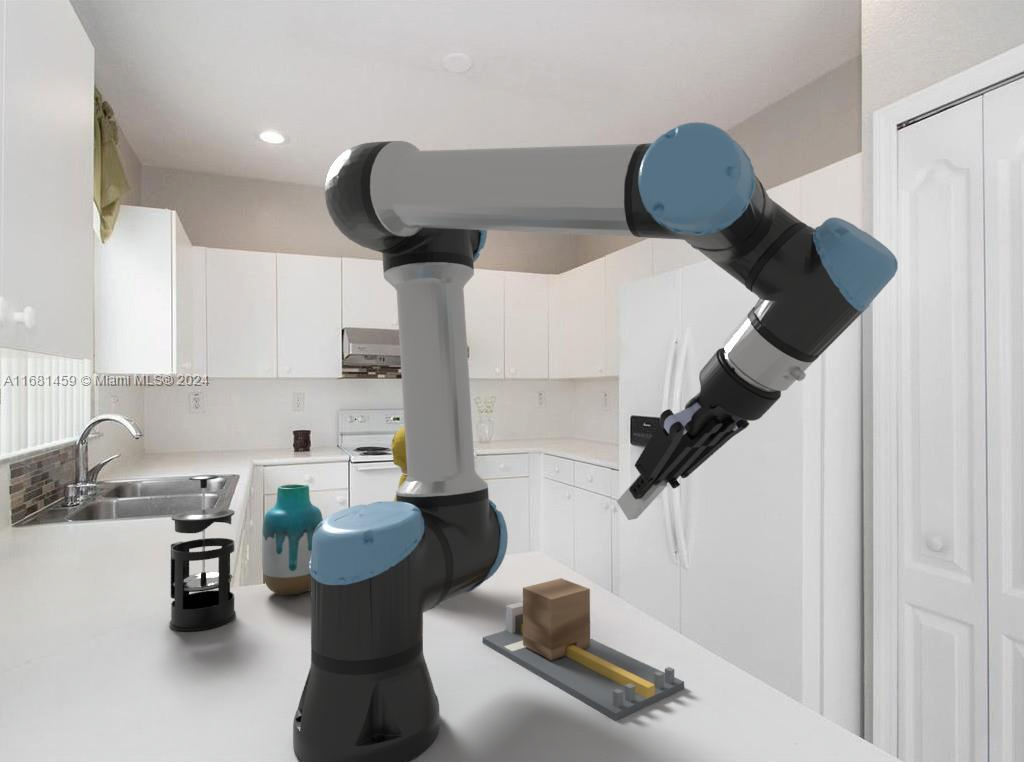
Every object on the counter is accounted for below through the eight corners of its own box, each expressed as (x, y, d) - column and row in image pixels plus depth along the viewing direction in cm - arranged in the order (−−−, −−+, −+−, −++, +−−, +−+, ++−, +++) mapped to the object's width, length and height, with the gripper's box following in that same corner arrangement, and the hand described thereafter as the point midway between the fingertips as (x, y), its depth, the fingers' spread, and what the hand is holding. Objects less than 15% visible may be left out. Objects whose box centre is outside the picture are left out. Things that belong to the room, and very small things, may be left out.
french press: (252, 615, 99) (252, 473, 100) (202, 636, 91) (202, 481, 91) (199, 605, 104) (200, 469, 104) (147, 625, 95) (148, 477, 96)
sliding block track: (684, 688, 74) (684, 651, 74) (615, 720, 67) (615, 680, 67) (546, 623, 95) (546, 595, 95) (482, 642, 88) (482, 612, 88)
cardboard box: (590, 646, 84) (589, 588, 84) (551, 660, 80) (550, 599, 80) (561, 632, 89) (560, 578, 89) (523, 645, 84) (522, 587, 85)
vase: (304, 604, 104) (304, 491, 104) (248, 600, 106) (248, 489, 107) (334, 584, 114) (334, 482, 115) (283, 581, 117) (283, 481, 117)
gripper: (738, 396, 55) (604, 544, 68) (812, 395, 63) (678, 528, 76) (689, 340, 59) (571, 490, 72) (763, 346, 67) (645, 480, 80)
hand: (626, 509), depth 74 cm, fingers closed
